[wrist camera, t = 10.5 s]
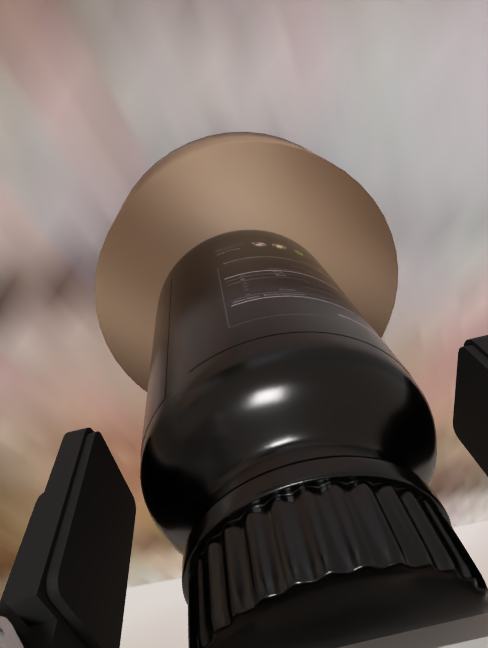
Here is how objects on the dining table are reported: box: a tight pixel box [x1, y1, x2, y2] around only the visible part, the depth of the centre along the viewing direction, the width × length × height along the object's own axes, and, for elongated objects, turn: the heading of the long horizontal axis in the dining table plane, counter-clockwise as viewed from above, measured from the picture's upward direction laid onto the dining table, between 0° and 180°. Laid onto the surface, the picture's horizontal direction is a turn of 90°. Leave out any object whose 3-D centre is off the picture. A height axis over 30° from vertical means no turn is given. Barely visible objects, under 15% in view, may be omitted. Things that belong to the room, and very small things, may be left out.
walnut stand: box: [95, 132, 398, 392], centre depth 19 cm, size 12×12×4 cm
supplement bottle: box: [140, 230, 488, 648], centre depth 12 cm, size 7×7×12 cm
